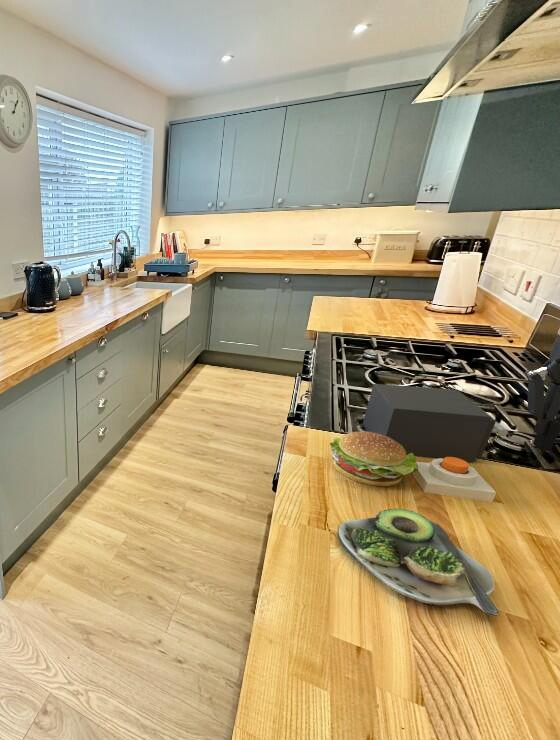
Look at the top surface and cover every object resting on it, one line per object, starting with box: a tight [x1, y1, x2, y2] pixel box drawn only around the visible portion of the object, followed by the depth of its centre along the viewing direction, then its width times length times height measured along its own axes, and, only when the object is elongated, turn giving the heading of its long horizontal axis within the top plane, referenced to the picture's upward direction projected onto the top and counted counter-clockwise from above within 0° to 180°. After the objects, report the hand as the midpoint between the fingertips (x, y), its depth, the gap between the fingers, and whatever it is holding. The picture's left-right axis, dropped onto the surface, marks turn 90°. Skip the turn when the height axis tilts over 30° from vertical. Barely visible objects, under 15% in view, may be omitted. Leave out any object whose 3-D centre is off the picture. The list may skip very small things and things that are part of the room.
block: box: [410, 458, 497, 503], centre depth 80 cm, size 10×8×4 cm
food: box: [329, 430, 418, 487], centre depth 85 cm, size 14×14×8 cm
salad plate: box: [337, 508, 500, 617], centre depth 63 cm, size 19×18×5 cm
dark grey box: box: [362, 383, 493, 464], centre depth 94 cm, size 16×14×11 cm
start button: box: [441, 457, 470, 474], centre depth 80 cm, size 4×4×2 cm
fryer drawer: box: [475, 417, 509, 460], centre depth 92 cm, size 19×13×9 cm
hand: (541, 447), depth 87 cm, fingers closed
